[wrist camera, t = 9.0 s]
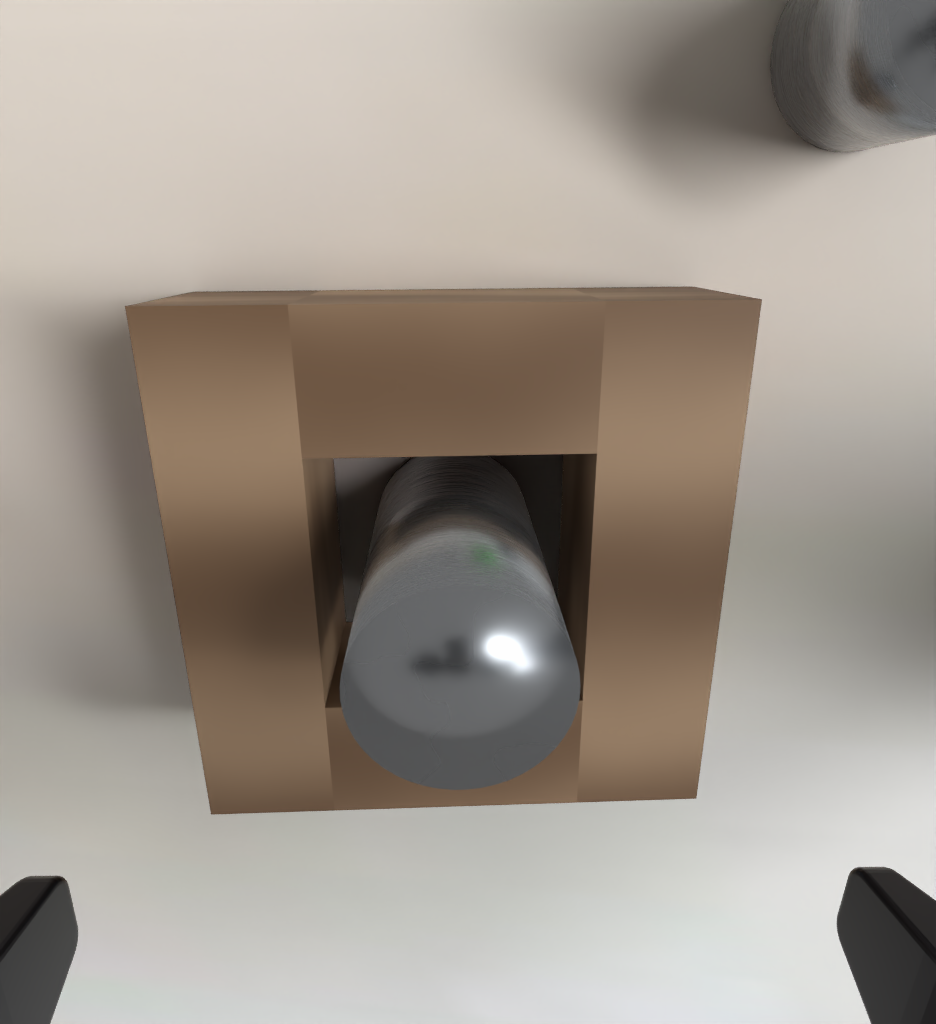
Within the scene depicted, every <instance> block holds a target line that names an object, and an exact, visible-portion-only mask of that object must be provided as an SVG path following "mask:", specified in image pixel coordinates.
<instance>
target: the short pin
mask: <svg viewBox="0 0 936 1024" xmlns="http://www.w3.org/2000/svg"><path fill="white" fill-rule="evenodd" d="M771 81H772V87H773V92H774V96H775V99H776V102H777V105H778V107H779V109H780V111H781V113H782V115H783V117H784V119H785V120H786V121H787V123H788V124H789V126H790V127H791V128H792V129H793V130H794V131H795V132H796V133H797V134H798V135H799V136H800V137H801V138H803V139H804V140H805V141H807V142H809V143H810V144H812V145H814V146H816V147H819V148H822V149H825V150H829V151H834V152H854V151H861V150H866V149H870V148H875V147H880V146H885V145H889V144H894V143H899V142H903V141H908V140H913V139H917V138H922V137H927V136H931V135H936V0H789V1H788V2H787V5H786V7H785V9H784V11H783V13H782V15H781V17H780V20H779V23H778V25H777V28H776V32H775V36H774V40H773V45H772V52H771Z"/></svg>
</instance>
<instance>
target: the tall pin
mask: <svg viewBox="0 0 936 1024" xmlns="http://www.w3.org/2000/svg"><path fill="white" fill-rule="evenodd" d="M580 687H581V685H580V672H579V668H578V664H577V659H576V656H575V653H574V650H573V647H572V644H571V641H570V638H569V635H568V632H567V629H566V626H565V623H564V620H563V616H562V613H561V610H560V607H559V604H558V601H557V598H556V595H555V592H554V589H553V586H552V583H551V580H550V577H549V574H548V571H547V568H546V564H545V561H544V558H543V555H542V552H541V549H540V546H539V543H538V540H537V537H536V534H535V531H534V528H533V525H532V522H531V519H530V516H529V513H528V509H527V506H526V503H525V500H524V497H523V495H522V492H521V490H520V487H519V486H518V484H517V482H516V480H515V479H514V478H513V476H512V475H511V474H510V472H509V471H508V470H507V469H506V468H505V467H504V466H502V465H501V464H500V463H498V462H497V461H496V460H494V459H492V458H491V457H489V456H487V455H484V456H427V457H415V458H413V459H411V460H409V461H408V462H407V463H405V464H404V465H403V466H402V467H401V468H400V469H399V470H398V471H396V472H395V474H394V475H393V476H392V478H391V479H390V480H389V482H388V484H387V485H386V487H385V489H384V491H383V494H382V496H381V500H380V504H379V508H378V513H377V517H376V522H375V526H374V530H373V535H372V539H371V544H370V548H369V553H368V557H367V561H366V566H365V570H364V575H363V579H362V584H361V588H360V592H359V597H358V601H357V606H356V610H355V615H354V619H353V624H352V628H351V632H350V637H349V641H348V646H347V650H346V655H345V659H344V663H343V668H342V672H341V679H340V702H341V707H342V712H343V716H344V718H345V721H346V723H347V726H348V728H349V730H350V732H351V734H352V735H353V737H354V739H355V740H356V742H357V743H358V744H359V746H360V747H361V748H362V749H363V751H364V752H365V753H366V754H367V755H368V756H369V757H370V758H371V759H372V760H374V761H375V762H376V763H378V764H379V765H380V766H381V767H383V768H384V769H386V770H388V771H389V772H391V773H393V774H394V775H396V776H398V777H401V778H403V779H405V780H407V781H410V782H413V783H416V784H419V785H422V786H427V787H432V788H437V789H448V790H468V789H476V788H483V787H488V786H492V785H496V784H499V783H502V782H505V781H508V780H511V779H513V778H515V777H517V776H519V775H521V774H523V773H525V772H527V771H528V770H530V769H531V768H533V767H535V766H536V765H537V764H539V763H540V762H541V761H542V760H544V759H545V758H546V757H547V756H548V755H549V754H550V753H551V752H552V751H553V750H554V749H555V748H556V747H557V746H558V745H559V743H560V742H561V741H562V739H563V738H564V737H565V735H566V733H567V732H568V730H569V728H570V726H571V724H572V722H573V719H574V717H575V714H576V712H577V708H578V703H579V699H580Z"/></svg>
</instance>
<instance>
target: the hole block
mask: <svg viewBox="0 0 936 1024" xmlns="http://www.w3.org/2000/svg"><path fill="white" fill-rule="evenodd" d="M761 302H762V299H756V298H751V297H746V296H740V295H735V294H729V293H724V292H719V291H713V290H708V289H702V288H697V287H620V288H522V289H424V290H326V291H228V292H191V293H186V294H181V295H177V296H172V297H167V298H162V299H158V300H153V301H148V302H144V303H139V304H134V305H129V306H125V309H126V314H127V320H128V326H129V332H130V338H131V344H132V350H133V356H134V362H135V368H136V373H137V379H138V385H139V391H140V397H141V403H142V409H143V415H144V421H145V427H146V432H147V438H148V444H149V450H150V456H151V462H152V468H153V474H154V480H155V485H156V491H157V497H158V503H159V509H160V515H161V521H162V527H163V533H164V539H165V544H166V550H167V556H168V562H169V568H170V574H171V580H172V586H173V592H174V598H175V603H176V609H177V615H178V621H179V627H180V633H181V639H182V645H183V651H184V657H185V662H186V668H187V674H188V680H189V686H190V692H191V698H192V704H193V710H194V716H195V721H196V727H197V733H198V739H199V745H200V751H201V757H202V763H203V769H204V775H205V780H206V786H207V792H208V798H209V804H210V810H211V814H238V813H268V812H298V811H329V810H359V809H390V808H420V807H450V806H481V805H511V804H542V803H572V802H602V801H633V800H663V799H694V798H696V796H697V789H698V781H699V773H700V766H701V758H702V751H703V743H704V735H705V728H706V720H707V713H708V705H709V697H710V690H711V682H712V675H713V667H714V659H715V652H716V644H717V636H718V629H719V621H720V614H721V606H722V598H723V591H724V583H725V576H726V568H727V560H728V553H729V545H730V538H731V530H732V522H733V515H734V507H735V499H736V492H737V484H738V477H739V469H740V461H741V454H742V446H743V439H744V431H745V423H746V416H747V408H748V401H749V393H750V385H751V378H752V370H753V362H754V355H755V347H756V340H757V332H758V324H759V317H760V309H761ZM541 454H563V478H562V503H561V527H560V552H559V576H558V604H559V607H560V610H561V613H562V616H563V620H564V623H565V626H566V629H567V632H568V635H569V638H570V641H571V644H572V647H573V650H574V653H575V656H576V659H577V664H578V668H579V672H580V685H581V687H580V699H579V703H578V708H577V712H576V714H575V717H574V719H573V722H572V724H571V726H570V728H569V730H568V732H567V733H566V735H565V737H564V738H563V739H562V741H561V742H560V743H559V745H558V746H557V747H556V748H555V749H554V750H553V751H552V752H551V753H550V754H549V755H548V756H547V757H546V758H545V759H544V760H542V761H541V762H540V763H539V764H537V765H536V766H535V767H533V768H531V769H530V770H528V771H527V772H525V773H523V774H521V775H519V776H517V777H515V778H513V779H511V780H508V781H505V782H502V783H499V784H496V785H492V786H488V787H483V788H476V789H468V790H448V789H437V788H432V787H427V786H422V785H419V784H416V783H413V782H410V781H407V780H405V779H403V778H401V777H398V776H396V775H394V774H393V773H391V772H389V771H388V770H386V769H384V768H383V767H381V766H380V765H379V764H378V763H376V762H375V761H374V760H372V759H371V758H370V757H369V756H368V755H367V754H366V753H365V752H364V751H363V749H362V748H361V747H360V746H359V744H358V743H357V742H356V740H355V739H354V737H353V735H352V734H351V732H350V730H349V728H348V726H347V723H346V721H345V718H344V716H343V712H342V707H341V702H340V679H341V672H342V668H343V663H344V659H345V655H346V650H347V646H348V641H349V637H350V632H351V628H352V624H353V622H346V616H345V603H344V590H343V577H342V563H341V550H340V537H339V524H338V511H337V498H336V485H335V472H334V459H333V458H370V457H427V456H484V455H541Z"/></svg>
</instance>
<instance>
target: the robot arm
mask: <svg viewBox="0 0 936 1024" xmlns="http://www.w3.org/2000/svg"><path fill="white" fill-rule="evenodd" d="M837 931H838V936H839V939H840V942H841V945H842V948H843V951H844V953H845V956H846V958H847V961H848V964H849V966H850V969H851V972H852V974H853V977H854V980H855V982H856V985H857V987H858V990H859V993H860V995H861V998H862V1001H863V1003H864V1006H865V1009H866V1011H867V1014H868V1016H869V1019H870V1022H871V1024H936V900H934V899H933V898H932V897H930V896H929V895H927V894H926V893H925V892H923V891H922V890H921V889H919V888H918V887H916V886H915V885H914V884H912V883H911V882H910V881H908V880H907V879H906V878H904V877H903V876H901V875H900V874H899V873H897V872H896V871H894V870H892V869H890V868H886V867H857V868H854V869H853V870H852V871H851V872H850V874H849V876H848V880H847V883H846V887H845V891H844V894H843V898H842V901H841V905H840V908H839V912H838V916H837ZM77 941H78V926H77V921H76V917H75V912H74V908H73V903H72V899H71V894H70V890H69V886H68V883H67V881H66V880H65V879H64V878H63V877H61V876H29V877H26V878H24V879H22V880H20V881H18V882H17V883H15V884H14V885H13V886H12V887H10V888H9V889H8V890H7V891H5V892H4V893H3V894H1V895H0V1024H50V1023H51V1020H52V1017H53V1014H54V1011H55V1009H56V1006H57V1003H58V1000H59V997H60V994H61V991H62V988H63V986H64V983H65V980H66V977H67V974H68V971H69V968H70V965H71V963H72V960H73V957H74V954H75V951H76V946H77Z"/></svg>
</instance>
